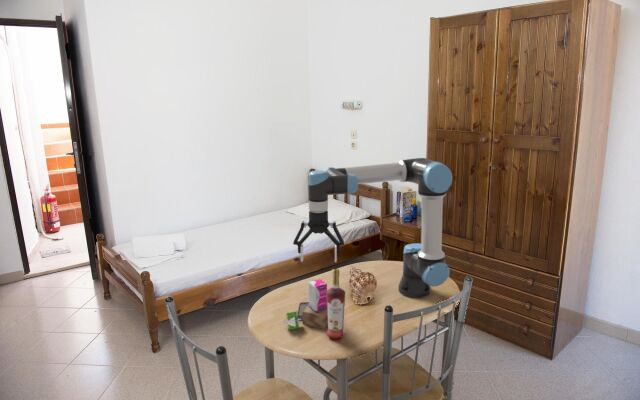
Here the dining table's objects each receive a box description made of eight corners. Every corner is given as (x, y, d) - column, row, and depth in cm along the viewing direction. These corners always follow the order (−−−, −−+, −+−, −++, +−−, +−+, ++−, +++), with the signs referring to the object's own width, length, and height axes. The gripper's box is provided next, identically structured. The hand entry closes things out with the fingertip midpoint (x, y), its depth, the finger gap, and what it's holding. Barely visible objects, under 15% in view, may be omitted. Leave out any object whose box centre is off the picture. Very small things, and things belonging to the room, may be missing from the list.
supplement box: (315, 312, 188) (314, 287, 185) (308, 306, 193) (307, 281, 190) (327, 309, 191) (327, 283, 188) (320, 303, 196) (319, 278, 193)
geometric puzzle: (280, 318, 191) (283, 309, 185) (296, 315, 193) (300, 306, 187) (285, 334, 187) (288, 326, 181) (301, 331, 189) (305, 322, 183)
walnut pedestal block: (334, 318, 196) (334, 305, 194) (324, 329, 187) (324, 316, 185) (312, 313, 200) (312, 300, 198) (302, 324, 191) (302, 311, 189)
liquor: (326, 341, 178) (326, 274, 171) (326, 331, 185) (325, 266, 178) (345, 341, 178) (346, 274, 171) (344, 331, 185) (344, 266, 178)
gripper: (350, 207, 184) (349, 257, 190) (287, 207, 185) (289, 256, 191) (350, 213, 177) (349, 264, 182) (285, 212, 178) (287, 264, 184)
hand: (318, 260), depth 187 cm, fingers open, 13 cm apart
